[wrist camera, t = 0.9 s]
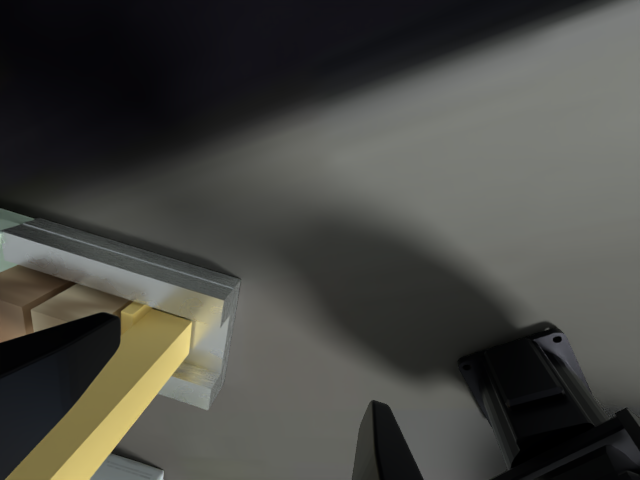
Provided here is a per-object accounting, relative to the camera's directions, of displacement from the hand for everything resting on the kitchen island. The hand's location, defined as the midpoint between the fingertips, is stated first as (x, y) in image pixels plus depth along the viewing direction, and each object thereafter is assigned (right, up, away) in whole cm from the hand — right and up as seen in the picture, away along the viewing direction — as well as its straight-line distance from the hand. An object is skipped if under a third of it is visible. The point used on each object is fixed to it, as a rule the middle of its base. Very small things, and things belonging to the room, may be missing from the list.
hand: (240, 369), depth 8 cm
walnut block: (-18, -1, +16) cm, 24 cm away
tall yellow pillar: (-9, -3, +16) cm, 18 cm away
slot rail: (-12, -2, +17) cm, 21 cm away
